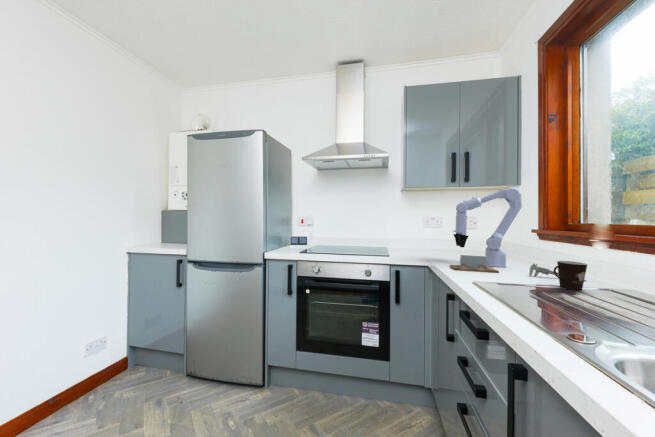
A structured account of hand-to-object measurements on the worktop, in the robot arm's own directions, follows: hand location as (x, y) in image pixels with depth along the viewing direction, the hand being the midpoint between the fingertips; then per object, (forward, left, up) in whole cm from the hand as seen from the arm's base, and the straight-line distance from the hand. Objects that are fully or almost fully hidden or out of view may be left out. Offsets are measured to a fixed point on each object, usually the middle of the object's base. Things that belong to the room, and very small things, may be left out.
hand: (460, 246), depth 157 cm
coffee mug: (-26, +49, -10) cm, 56 cm away
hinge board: (-1, +21, -9) cm, 23 cm away
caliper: (-33, +30, -10) cm, 46 cm away
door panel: (-1, +21, -8) cm, 23 cm away
